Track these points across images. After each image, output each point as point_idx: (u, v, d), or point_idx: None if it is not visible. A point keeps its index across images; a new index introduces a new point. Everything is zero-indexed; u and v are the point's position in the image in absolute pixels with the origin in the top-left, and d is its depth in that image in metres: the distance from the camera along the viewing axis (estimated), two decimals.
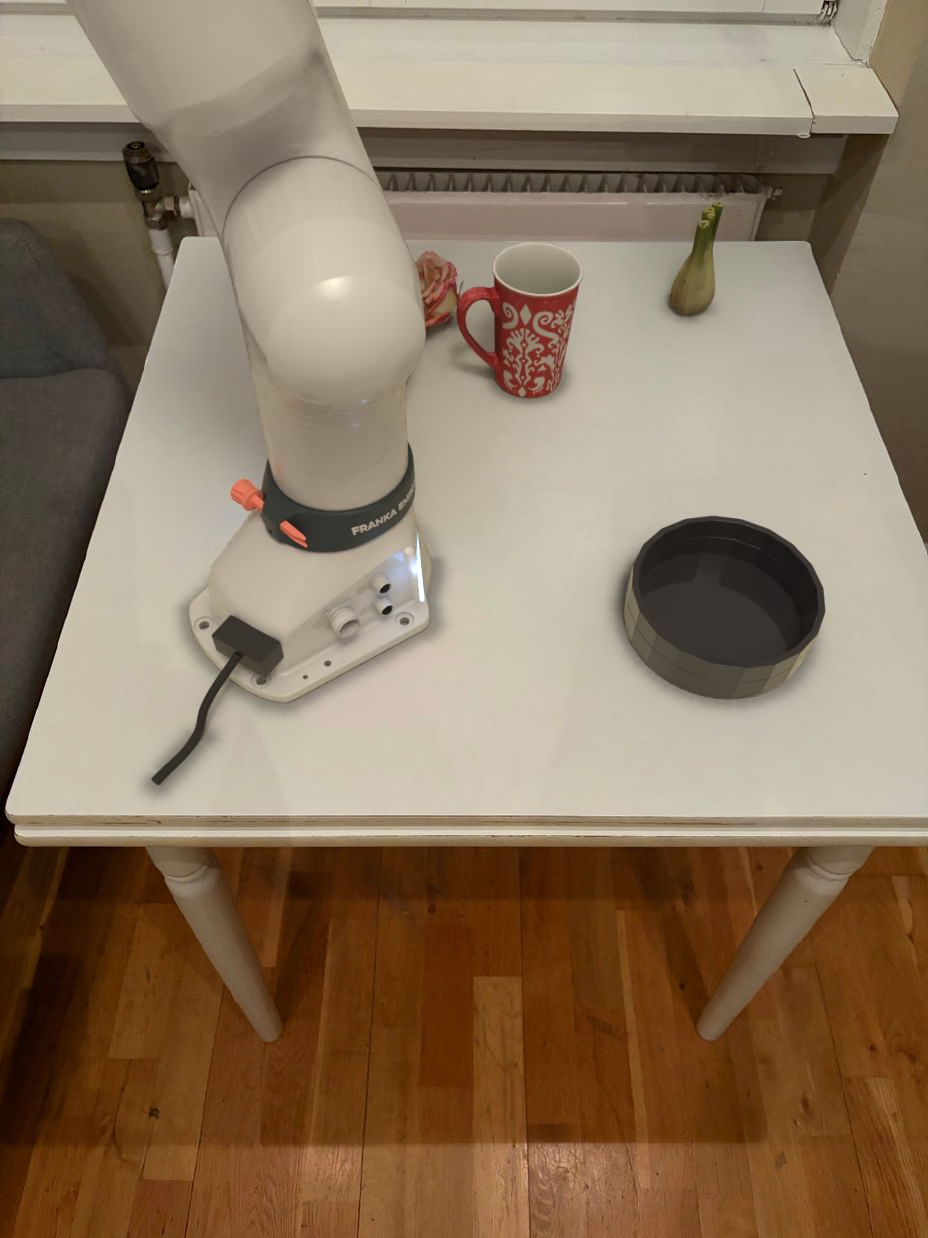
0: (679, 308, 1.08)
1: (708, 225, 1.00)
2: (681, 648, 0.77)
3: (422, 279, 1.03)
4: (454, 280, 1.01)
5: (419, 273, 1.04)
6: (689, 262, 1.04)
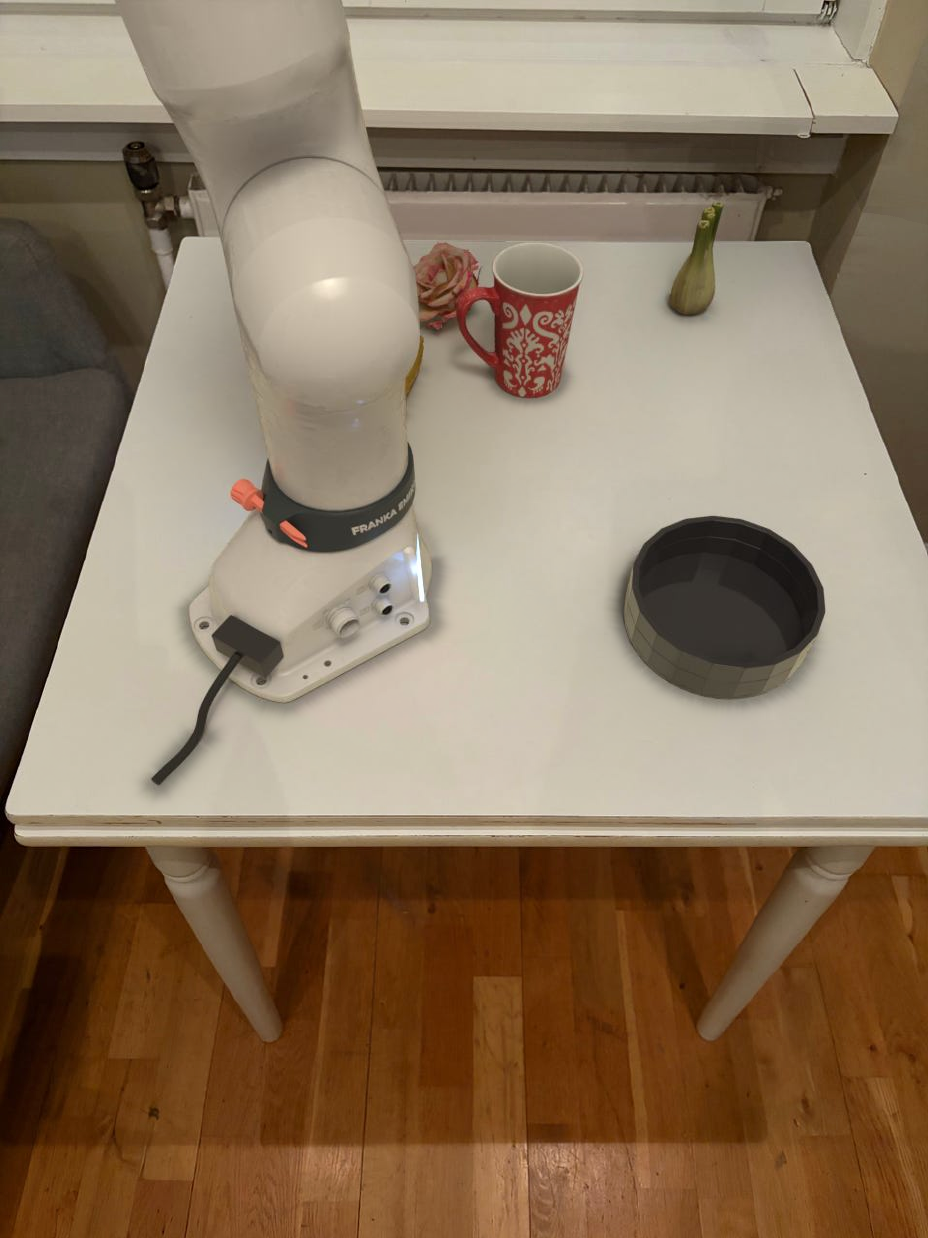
0: (679, 308, 1.08)
1: (708, 225, 1.00)
2: (681, 648, 0.77)
3: (443, 270, 1.04)
4: (477, 266, 1.03)
5: (437, 265, 1.05)
6: (689, 262, 1.04)
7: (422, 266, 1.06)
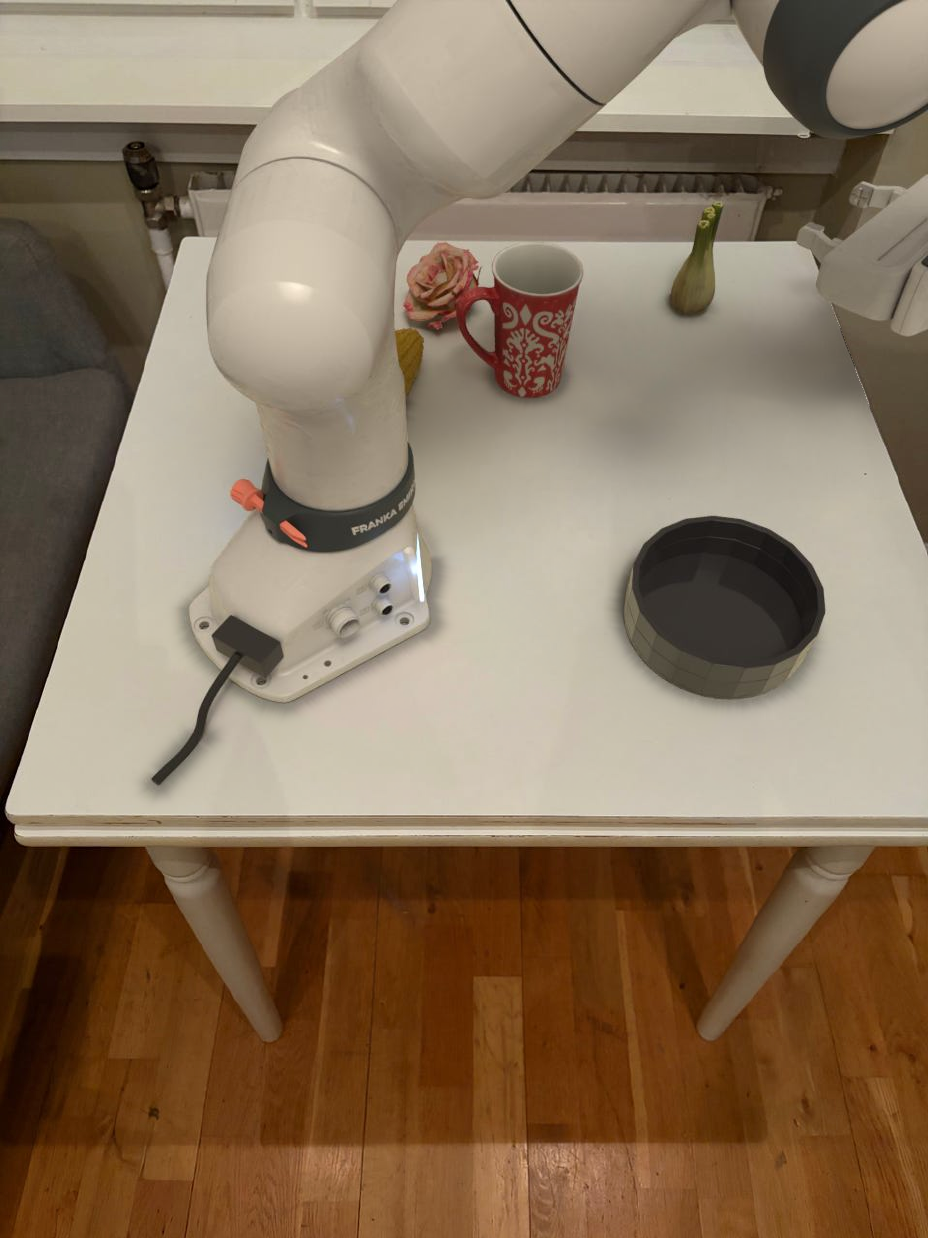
0: (679, 308, 1.08)
1: (708, 225, 1.00)
2: (681, 648, 0.77)
3: (443, 270, 1.04)
4: (477, 266, 1.03)
5: (437, 265, 1.05)
6: (689, 262, 1.04)
7: (422, 266, 1.06)
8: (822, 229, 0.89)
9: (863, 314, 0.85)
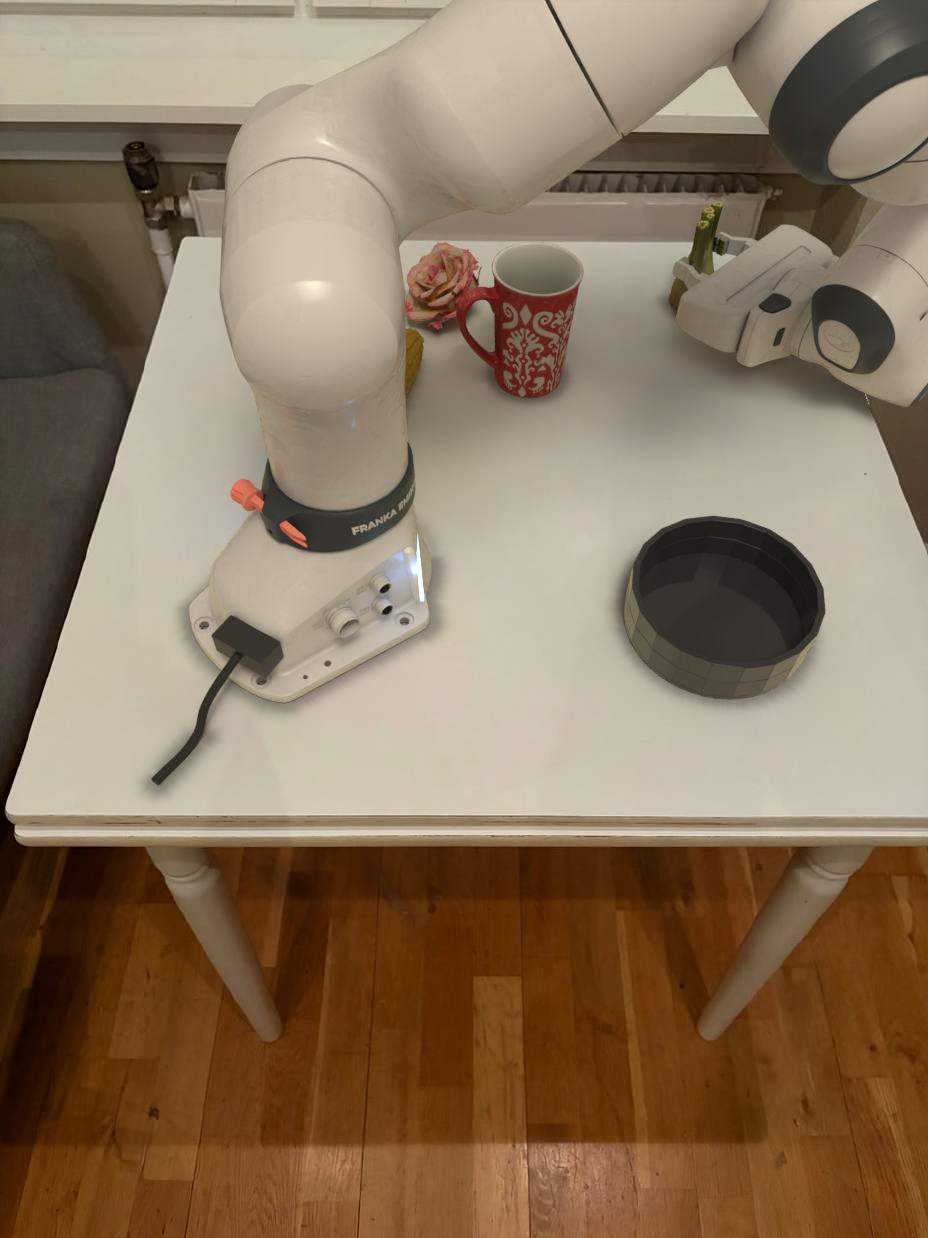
0: None
1: (707, 225, 1.00)
2: (681, 648, 0.77)
3: (443, 270, 1.04)
4: (477, 266, 1.03)
5: (437, 265, 1.05)
6: None
7: (422, 266, 1.06)
8: (693, 264, 1.03)
9: (713, 346, 0.99)
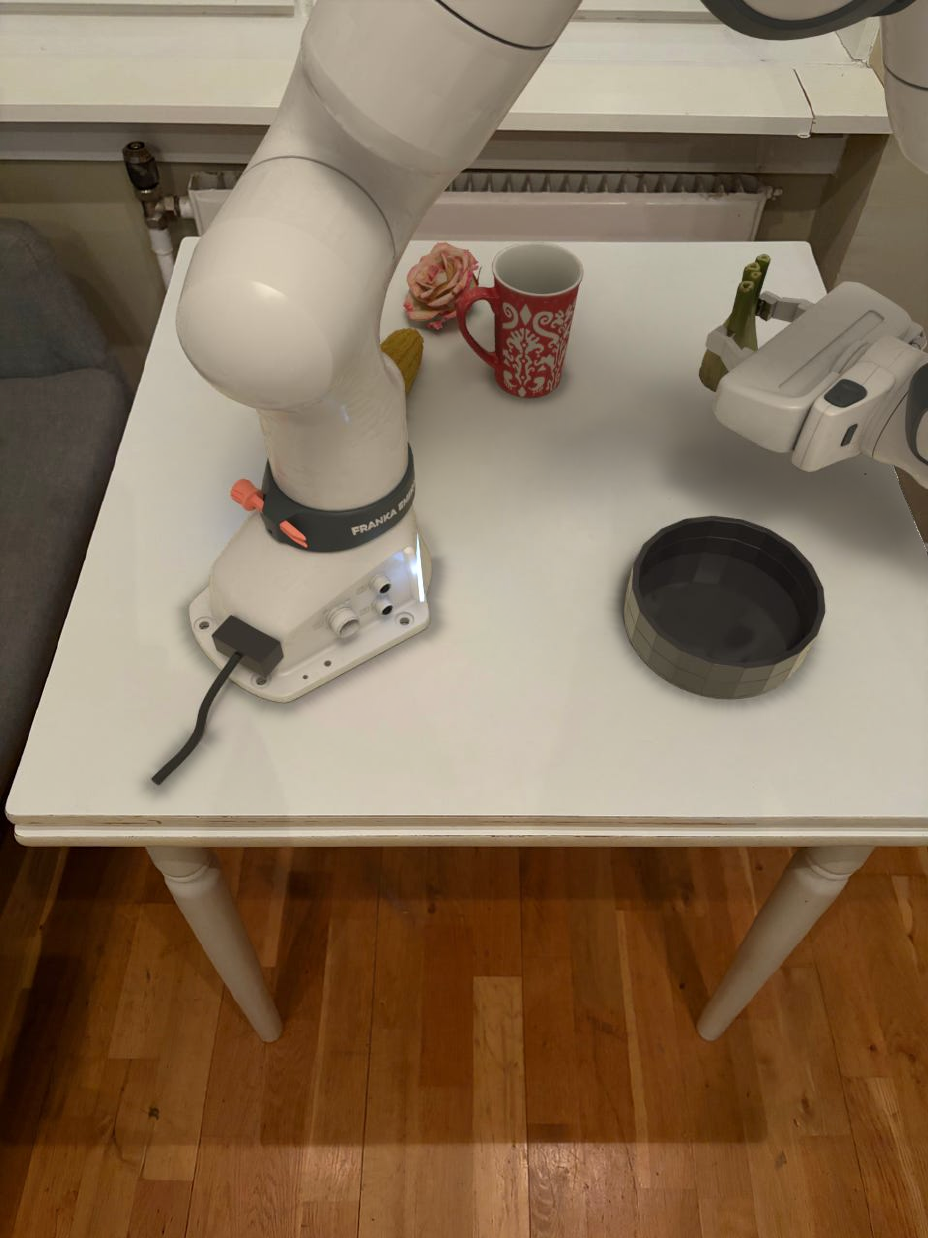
0: (712, 387, 0.85)
1: (752, 288, 0.77)
2: (681, 648, 0.77)
3: (443, 270, 1.04)
4: (477, 266, 1.03)
5: (437, 265, 1.05)
6: None
7: (422, 266, 1.06)
8: (733, 335, 0.80)
9: (761, 444, 0.76)
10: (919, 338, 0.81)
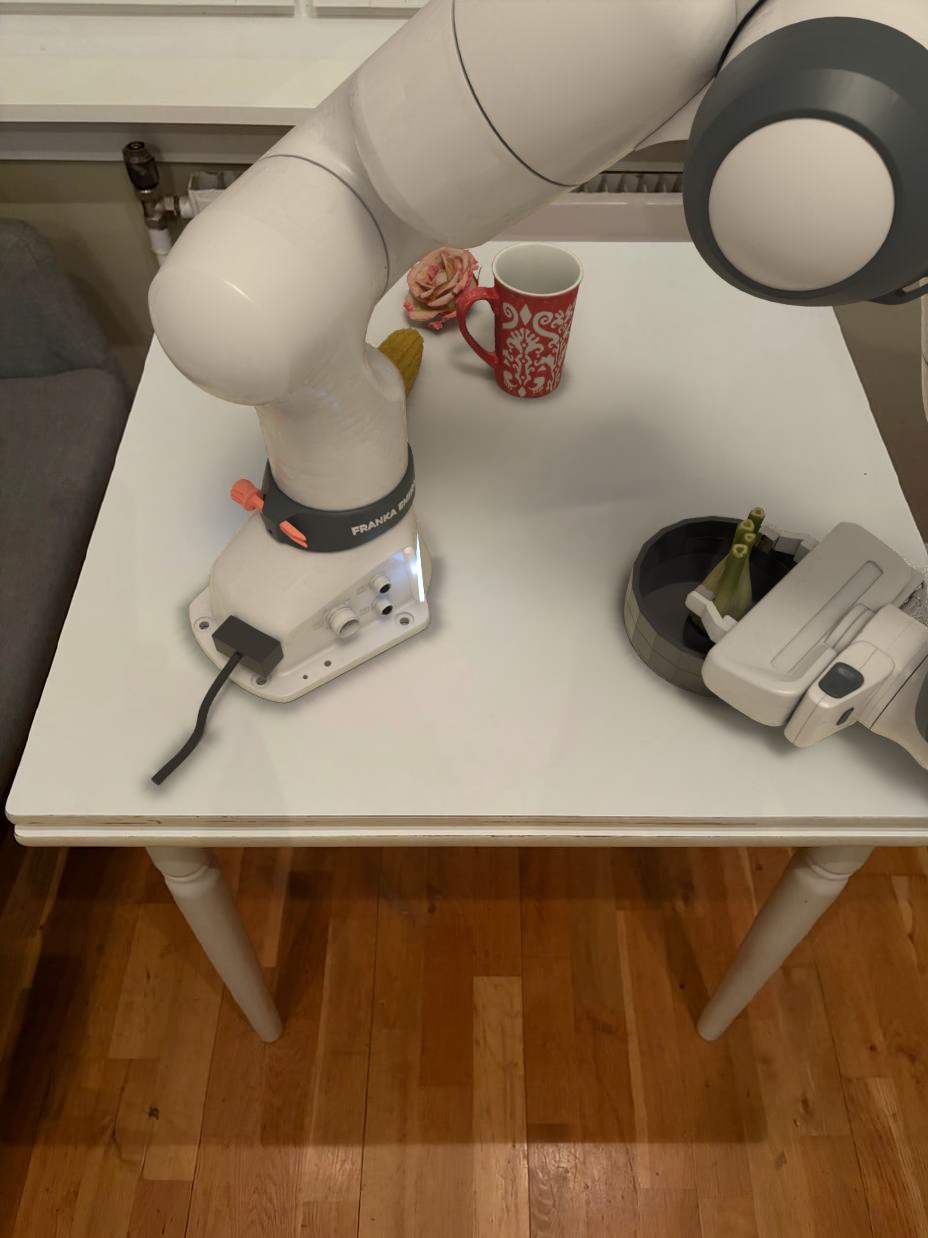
0: (704, 630, 0.82)
1: (746, 552, 0.74)
2: (681, 648, 0.77)
3: (443, 270, 1.04)
4: (477, 266, 1.03)
5: (437, 265, 1.05)
6: (719, 586, 0.77)
7: (422, 266, 1.06)
8: (714, 598, 0.76)
9: (753, 718, 0.72)
10: (920, 591, 0.77)
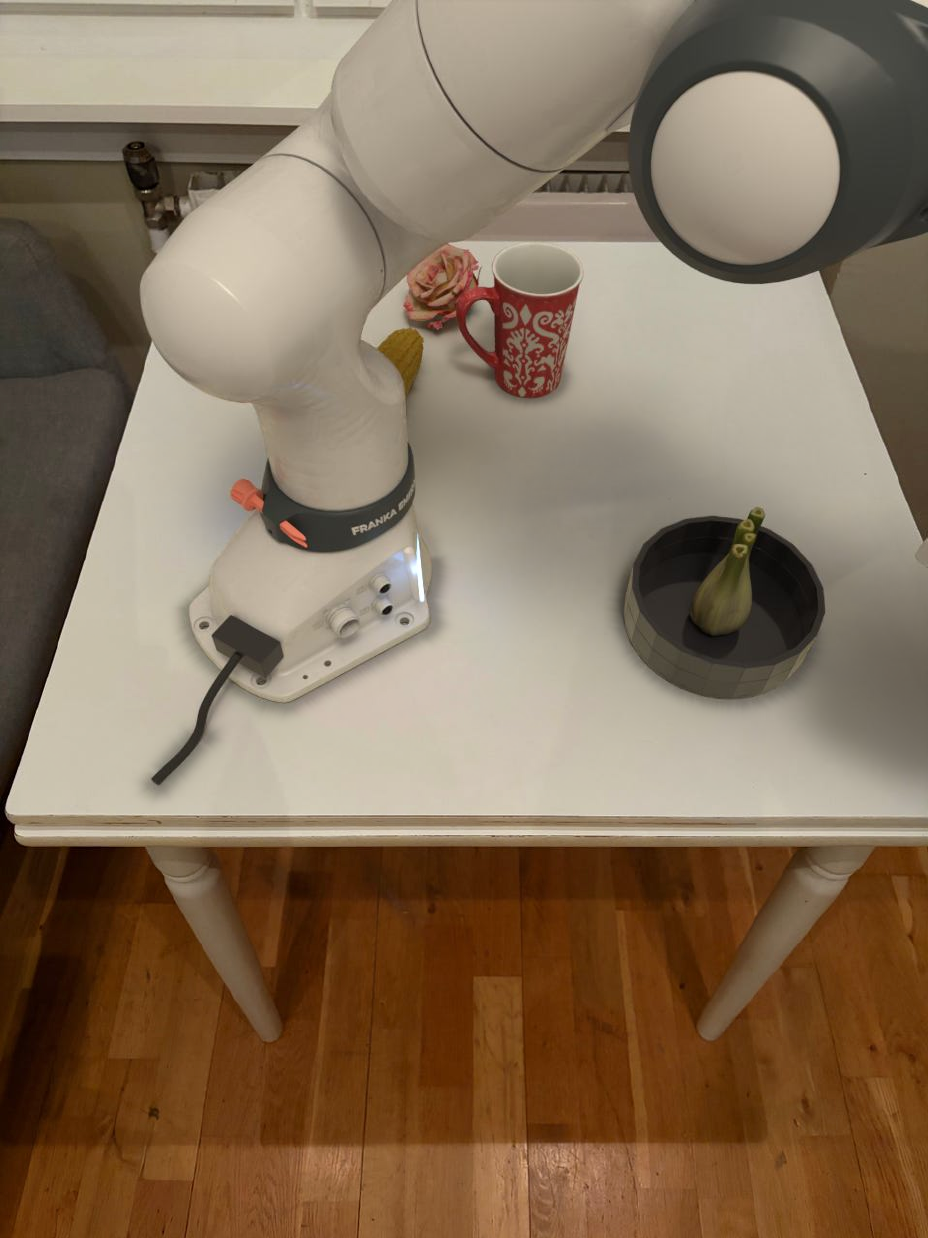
0: (704, 630, 0.82)
1: (746, 552, 0.74)
2: (681, 648, 0.77)
3: (443, 270, 1.04)
4: (477, 266, 1.03)
5: (437, 265, 1.05)
6: (719, 586, 0.77)
7: (422, 266, 1.06)
8: None
9: None
10: None
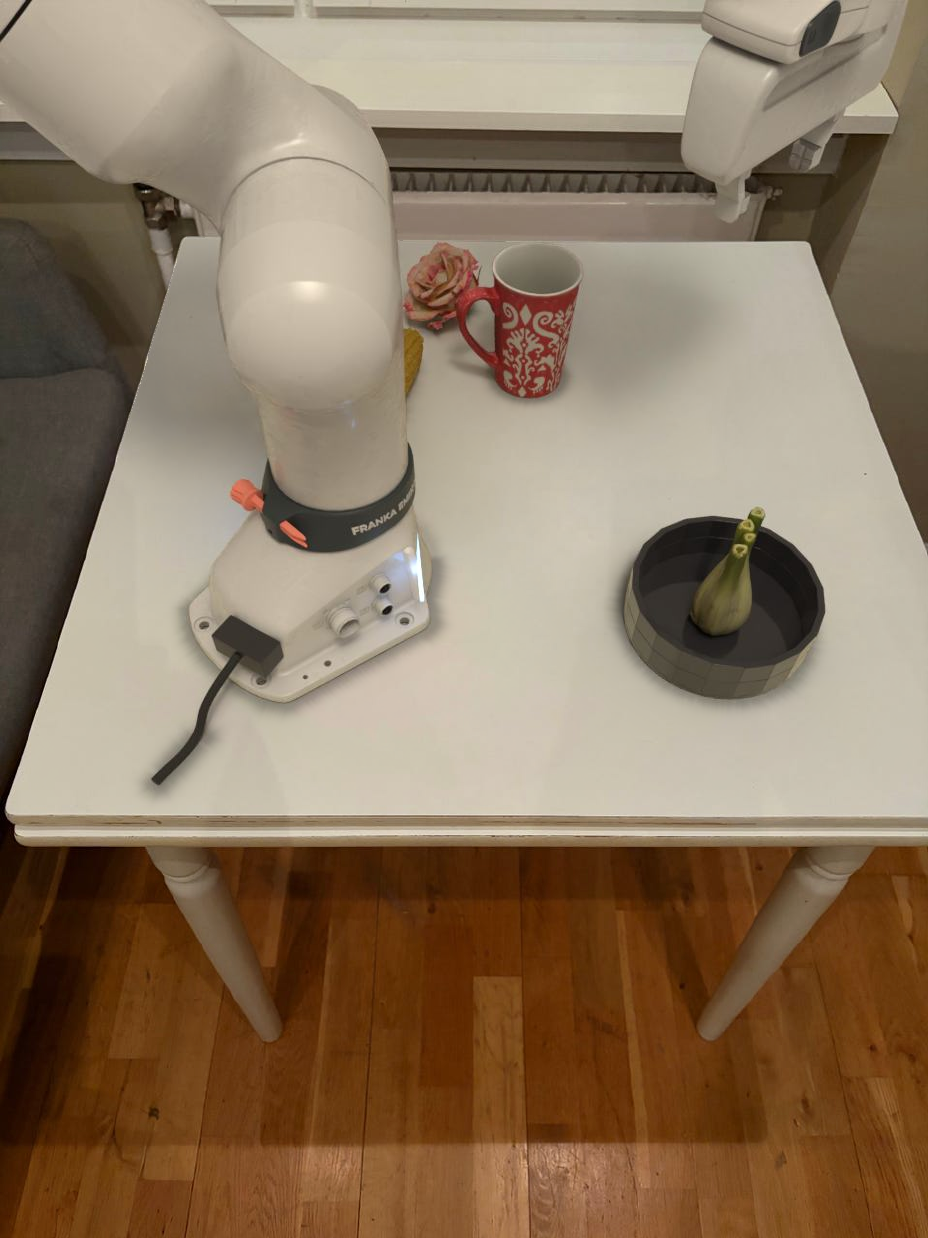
0: (704, 630, 0.82)
1: (746, 552, 0.74)
2: (681, 648, 0.77)
3: (443, 270, 1.04)
4: (477, 266, 1.03)
5: (437, 265, 1.05)
6: (719, 586, 0.77)
7: (422, 266, 1.06)
8: None
9: (747, 105, 0.56)
10: None
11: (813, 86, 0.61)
